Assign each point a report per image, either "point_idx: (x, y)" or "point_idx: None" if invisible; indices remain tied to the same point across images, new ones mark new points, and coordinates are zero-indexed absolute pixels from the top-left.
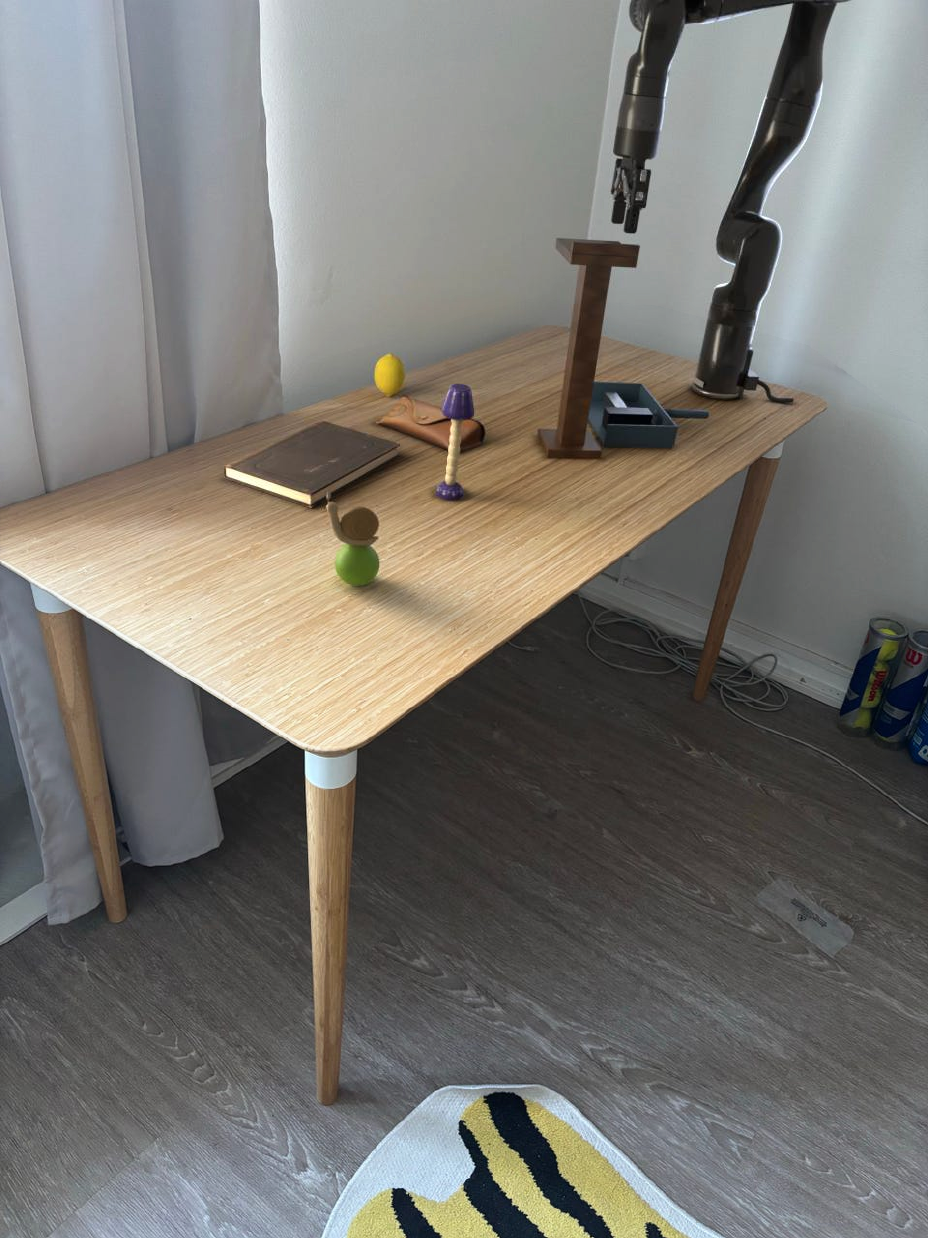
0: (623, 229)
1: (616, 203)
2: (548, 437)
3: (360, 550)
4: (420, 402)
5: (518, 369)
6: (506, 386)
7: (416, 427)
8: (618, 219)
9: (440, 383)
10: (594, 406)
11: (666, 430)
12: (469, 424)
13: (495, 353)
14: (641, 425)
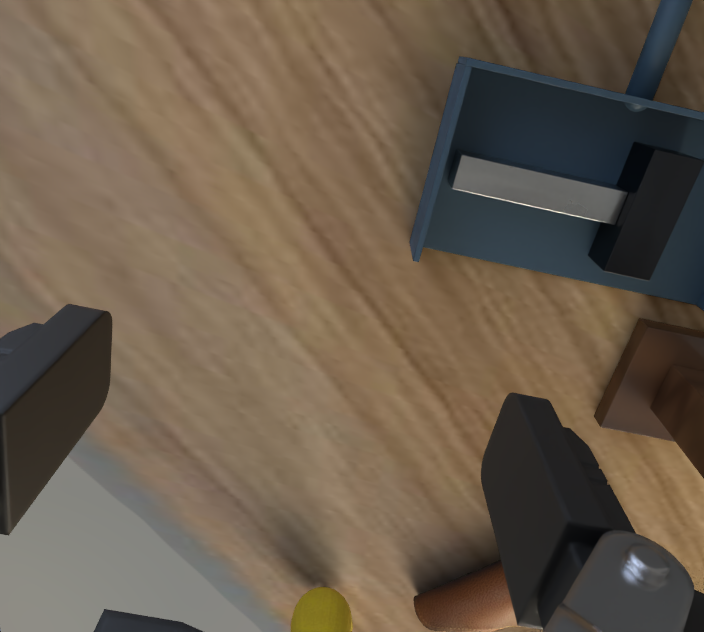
0: (482, 483)
1: (18, 500)
2: (652, 425)
3: None
4: (483, 619)
5: (156, 295)
6: (285, 369)
7: None
8: (97, 368)
9: (256, 491)
10: (471, 219)
11: None
12: None
13: (22, 307)
14: None
